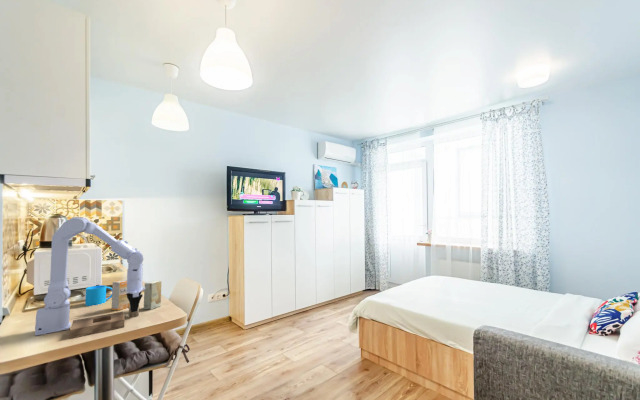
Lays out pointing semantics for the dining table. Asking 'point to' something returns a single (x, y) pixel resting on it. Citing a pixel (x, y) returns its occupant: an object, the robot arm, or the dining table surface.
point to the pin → (133, 314)
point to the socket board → (97, 324)
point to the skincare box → (152, 295)
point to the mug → (96, 295)
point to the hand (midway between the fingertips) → (134, 310)
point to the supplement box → (119, 295)
